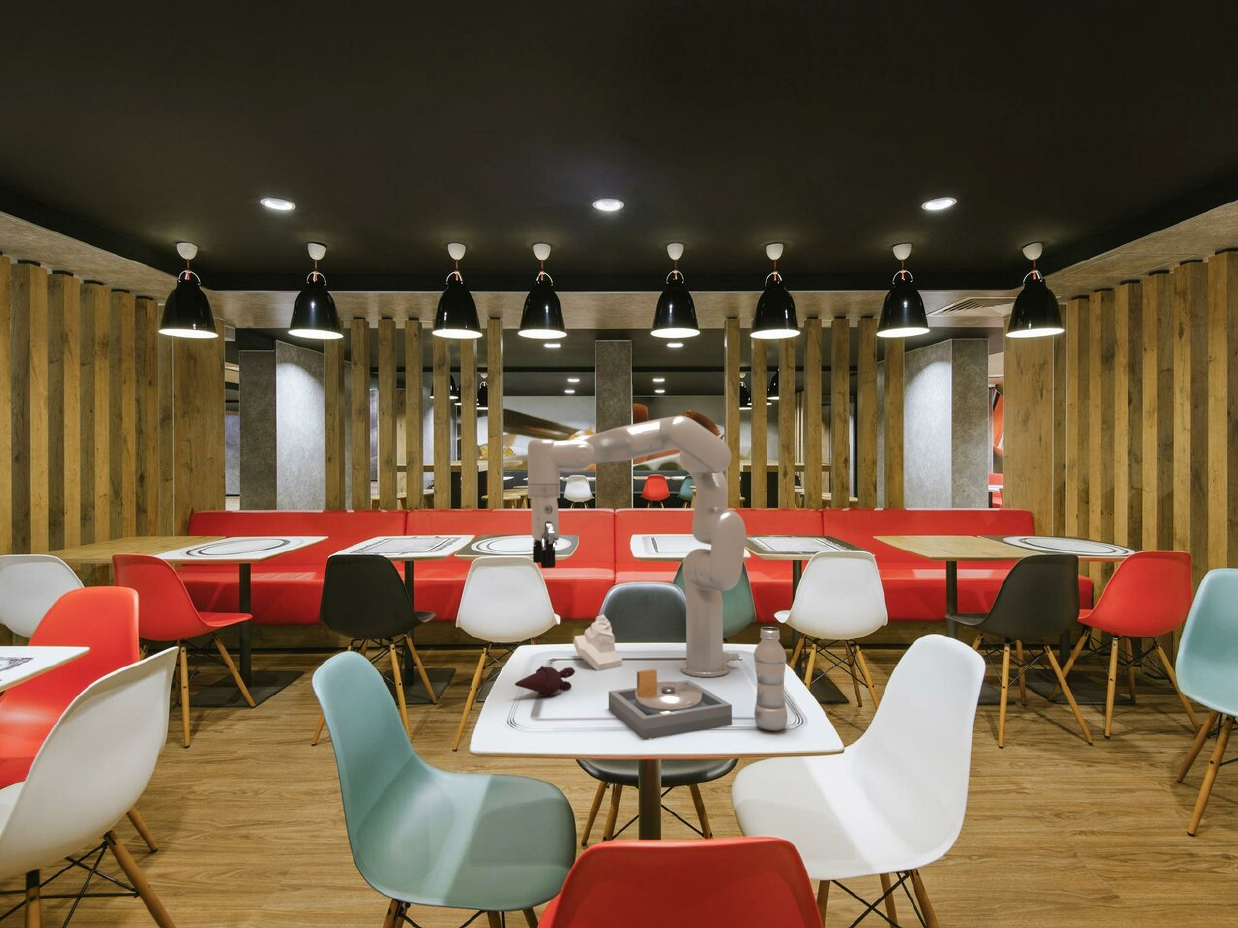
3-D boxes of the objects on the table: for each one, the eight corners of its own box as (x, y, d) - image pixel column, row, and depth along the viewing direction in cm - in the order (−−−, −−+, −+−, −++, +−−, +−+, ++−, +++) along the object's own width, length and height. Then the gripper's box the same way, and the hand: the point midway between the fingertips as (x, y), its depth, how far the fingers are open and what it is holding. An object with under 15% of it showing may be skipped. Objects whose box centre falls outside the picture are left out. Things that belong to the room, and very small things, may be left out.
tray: (689, 697, 153) (689, 678, 153) (732, 724, 137) (731, 703, 137) (608, 709, 146) (608, 689, 146) (643, 739, 129) (643, 717, 129)
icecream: (524, 677, 148) (582, 672, 156) (511, 661, 154) (568, 657, 162) (518, 706, 149) (577, 699, 157) (506, 689, 155) (563, 683, 163)
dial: (681, 691, 150) (681, 656, 151) (714, 711, 137) (713, 673, 138) (624, 700, 145) (624, 663, 145) (653, 722, 132) (652, 681, 132)
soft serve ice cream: (613, 659, 191) (626, 612, 190) (620, 680, 176) (634, 628, 175) (570, 650, 189) (583, 602, 188) (574, 670, 174) (588, 618, 173)
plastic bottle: (769, 737, 130) (768, 634, 130) (747, 725, 136) (746, 627, 136) (794, 731, 133) (793, 630, 133) (772, 720, 139) (771, 624, 139)
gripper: (568, 492, 149) (568, 569, 149) (552, 491, 166) (552, 559, 166) (534, 493, 147) (534, 570, 147) (521, 491, 164) (521, 561, 163)
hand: (543, 564), depth 156 cm, fingers open, 9 cm apart
